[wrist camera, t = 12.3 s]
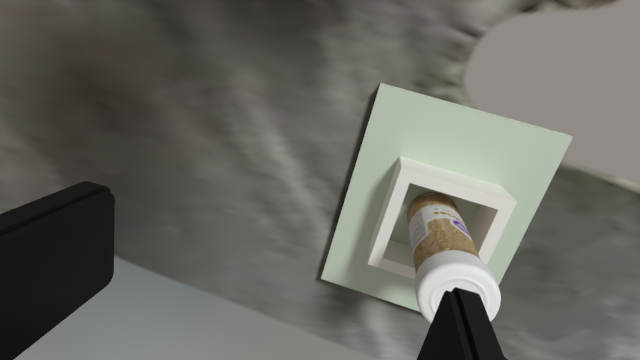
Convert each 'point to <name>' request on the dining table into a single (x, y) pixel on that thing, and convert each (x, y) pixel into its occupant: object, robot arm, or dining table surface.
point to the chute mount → (437, 187)
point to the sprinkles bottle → (446, 255)
